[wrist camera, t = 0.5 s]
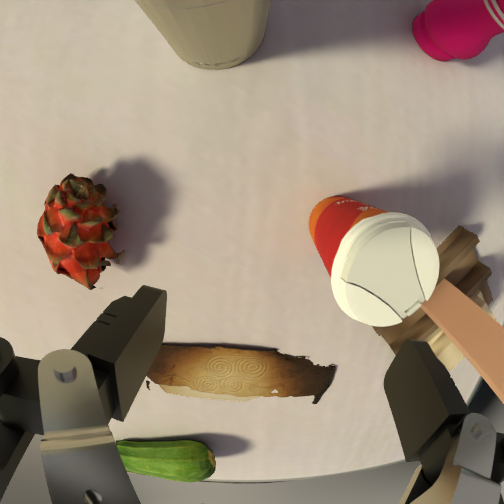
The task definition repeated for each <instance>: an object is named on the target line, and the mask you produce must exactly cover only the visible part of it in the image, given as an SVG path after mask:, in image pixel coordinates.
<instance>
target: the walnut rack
mask: <svg viewBox="0 0 504 504" xmlns="http://www.w3.org/2000/svg"><path fill="white" fill-rule="evenodd" d="M479 242H480V241H479V239H478V237H477V235H475V234H473V233H471V232H469V231H467V230H465V229H464V228H463V227H461V226H458V227H457V229H456V230H455V231H454V232H453V233H452V234H451V235H450V236H449V237H448V238H447V239H446V240H445V241H444V242H443V243H442V244H441V245H440V246H439V247H438V248H437V252H438V256H439V275H438V280H437V283H436V286H437V285H438V284H439V283H440V282H441V281H442V280H443V279H444V278H445V279H446V280H447V281H448V282H450V283H451V284H452V285H454V286H455V287H456V288H457V289H459V290H460V291H461V292H462V293H464V294H465V295H466V296H467V297H468V298H470V297H471V296H472V295H473V294H474V293H475V292H476V291H477V290H480V291H481V293H482V295H483V298H484V301H485V302H486V304H487V305H489V303H490V302H491V301H492V300H493V298H492V295H491V292H490V290H489V287H488V284H487V281H486V280H487V279H488V278H489V277H490V275H491V274H492V272H491V269H490V268H489V267H487V266H486V265H484V264H482V263H481V262H479V261H478V258H477V256H476V254H475V251H474V249H473V248H474V247H475V246H476V245H477V244H478V243H479ZM436 286H435V287H436ZM401 320H402V321H403V322H401V323H398V324H395V325H392V326H385V327H379V326H372V327H373V328H374V330H375V331H376V333H377V334H378V335H379V336H380V335H381V336H382V337H383V338H384V339H385V341H386V342H387V343H388V344H389V346H390V347H391V349H392V350H393V352H394V353H395V355H396V354H397V353H398V351H399V349H400V347H401V345H402V343H403V342H404V341H405V340H406V339H413V340H421V341H424V340H425V339H426V338H428V337H429V336H430V335H431V334H432V333H433V332H434V331H435V330H437V329H438V328H439V327H438V326H437V325H436V324H435V322H434V321H433V320H432V319H431V318H430V317H429V316H428V315H427V314H426V313H425V312H424V311H423V309H422V308H421V307H420V308H419V309H418V310H416V311H415V312H414V313H413V314H412V315H410V316H408V315H407V316H406V317H405V318H404V319H402V318H401Z"/></svg>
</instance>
